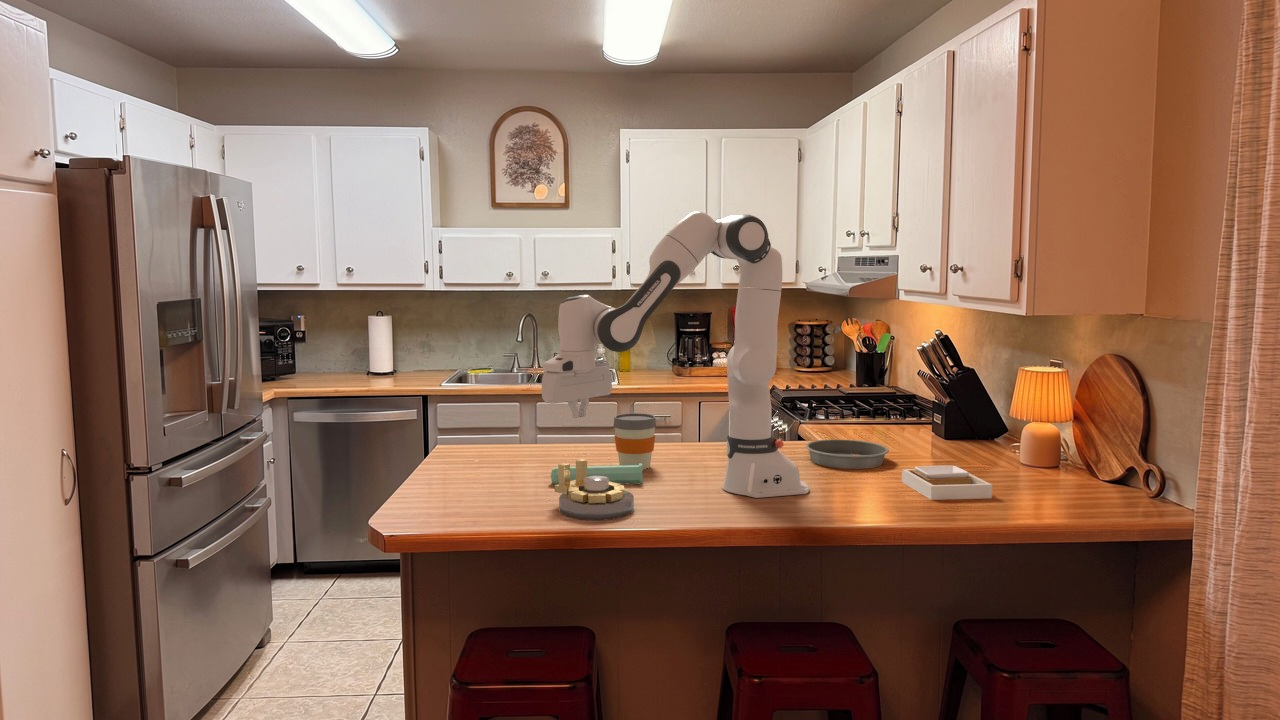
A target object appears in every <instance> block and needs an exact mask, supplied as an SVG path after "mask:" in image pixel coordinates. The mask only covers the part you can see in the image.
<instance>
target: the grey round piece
mask: <svg viewBox="0 0 1280 720" xmlns="http://www.w3.org/2000/svg"><path fill="white" fill-rule="evenodd" d="M608 491H609V478H608V477H605V476H589V477H586V478H584V492H587V493H605V492H608ZM634 503H635V499H634V494H633V493H632V492H630V491H628V490H625V497H623V499H620V500H617V501H613V502H609V501H606V503H589V502H588V501H587V502H584V503H582V502H578V501H574V500H571V498H569V494H568V495H566V494H562V493H561V494H560V495H559V497H558V510H559V511H558V512H559V513H560V514H561V515H562V516H564V517H567V518H571V519H575V520H584V521H605V520H604V519H608V520H614V519H613V518H615V519H619V517H620V518H622V517H623V518H624V517H626V516H629V515H630V514H632V513H633V512H634V508H635V506H634V505H635V504H634ZM632 511H633V512H632ZM631 512H632V513H631ZM628 514H629V515H628Z"/></svg>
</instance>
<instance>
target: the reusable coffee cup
mask: <svg viewBox="0 0 1280 720" xmlns="http://www.w3.org/2000/svg"><path fill="white" fill-rule="evenodd" d="M656 421H657V420H656V415H653V414H649V413H648V414H647V413H640V412H639V413H634V412H633V413H622V414H617V415H615V416H614V418H613V428H614V432H615V435H614V442H615V451H616V452H617V455H618V463H619V466H626V465H639V464H641V463H642V469H645V470H647V469H646V468H648V469H650V468H651V463H652V454H653V451H654V449H655V443H656V442H655V441H656V435H655V430H656V427H657V423H656ZM649 467H650V468H649Z"/></svg>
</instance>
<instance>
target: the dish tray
mask: <svg viewBox="0 0 1280 720" xmlns="http://www.w3.org/2000/svg"><path fill="white" fill-rule="evenodd" d="M913 470H915V468H909V469H908V468H906V469H901V483H903V484H904V485H906V486H907V487H909V488H910V489H912V490H914V491H916V492H917V493H919V494H920V495H922V496H924V497H926V498H927V499H929V500H930V501H937V500H938V501H939V500H942V501H943V500H972V499H973V500H975V499H977V500H978V499H992V498H993V484H992V483H989V482H988V481H986V480H984V479H982V478H979V477H977V476H975V475H974V474H972V473H969V475H968V476H969V477H971V478H972V481H971V483H970V484H960V485H932V484H931V483H929V482H927V481H925V480H923V479H922V478H920V477H918V476H916V475H915V474H913V473H912V471H913Z"/></svg>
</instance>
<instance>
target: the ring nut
mask: <svg viewBox="0 0 1280 720" xmlns="http://www.w3.org/2000/svg"><path fill="white" fill-rule="evenodd" d="M587 466H588V459H585V458H580V459H576V460H575V467H576V480H573V481H570V467H571V464H570V463H565V462H562V463H559V464H557V467H558V481H559V484H558V485H554V492H555V493H558V494H561V495H562V494H566V495H568V494H569V498H571V500H574V501H578V502H582V503H584V502H587V501H588V502H589V503H606V501H609V502H613V501H617V500H620V499H623V497H625V491H626V489H625V486H624V485H625V484H618V483H614V482H609V491H608V492H605V493H587V492H584V478H586V477H587Z"/></svg>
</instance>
